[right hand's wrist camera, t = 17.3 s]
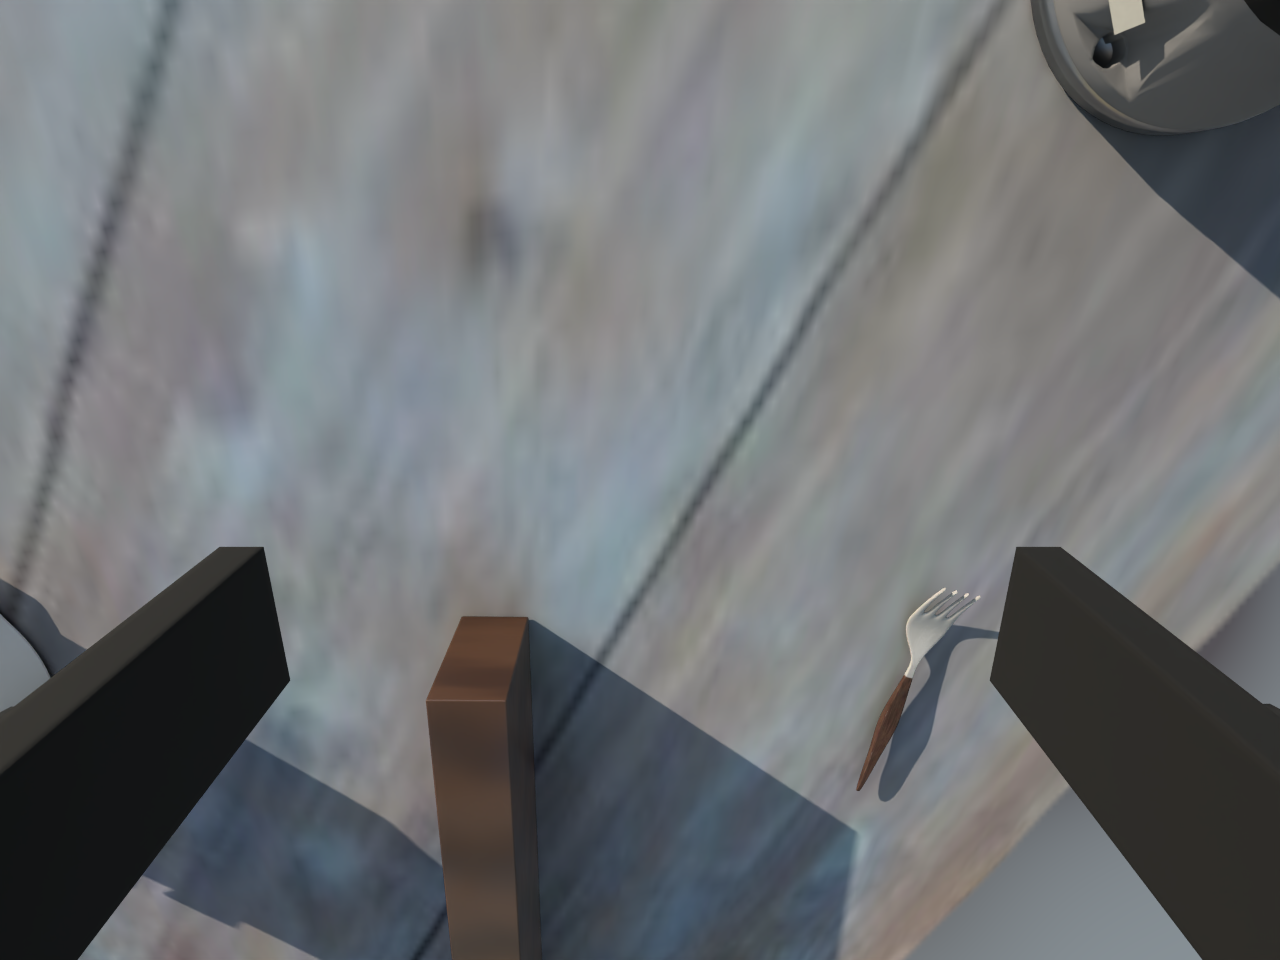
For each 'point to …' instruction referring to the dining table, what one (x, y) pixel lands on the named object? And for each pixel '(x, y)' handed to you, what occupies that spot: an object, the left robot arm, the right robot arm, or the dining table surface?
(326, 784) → the dining table surface
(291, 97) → the dining table surface
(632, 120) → the dining table surface
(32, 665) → the left robot arm
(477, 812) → the walnut beam
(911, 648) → the fork
